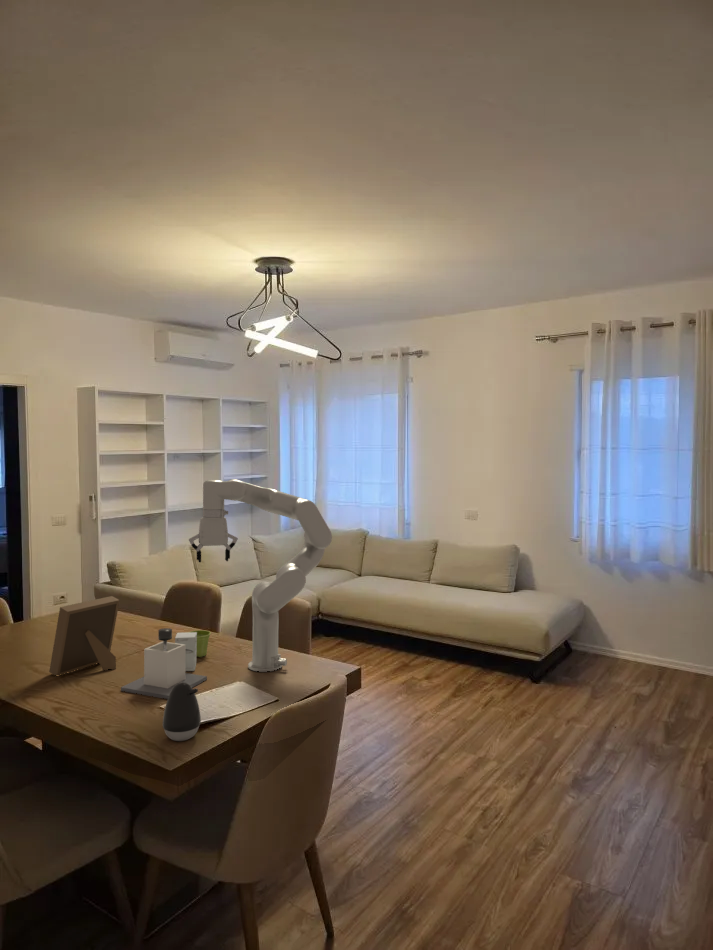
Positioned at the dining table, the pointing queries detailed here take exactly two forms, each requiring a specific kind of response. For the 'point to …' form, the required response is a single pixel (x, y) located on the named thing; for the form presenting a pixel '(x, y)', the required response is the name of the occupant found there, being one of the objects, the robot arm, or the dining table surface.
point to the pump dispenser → (181, 713)
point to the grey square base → (163, 671)
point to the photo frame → (85, 636)
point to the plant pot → (202, 642)
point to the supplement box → (188, 648)
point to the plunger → (165, 636)
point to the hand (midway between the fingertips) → (213, 561)
